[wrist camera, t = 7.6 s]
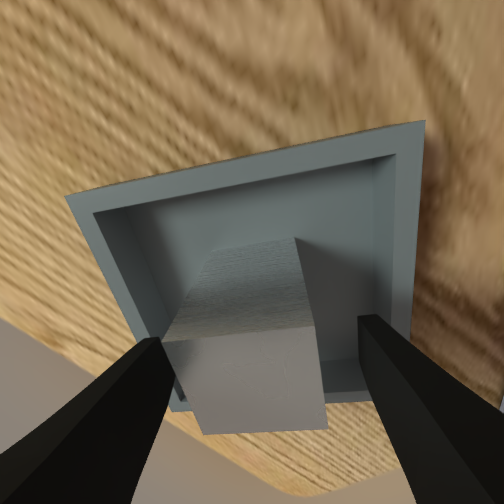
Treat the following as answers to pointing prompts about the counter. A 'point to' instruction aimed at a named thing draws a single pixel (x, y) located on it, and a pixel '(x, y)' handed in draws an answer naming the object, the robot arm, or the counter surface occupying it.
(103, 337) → the counter surface
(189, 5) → the counter surface
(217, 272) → the aluminium block
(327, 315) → the tray
